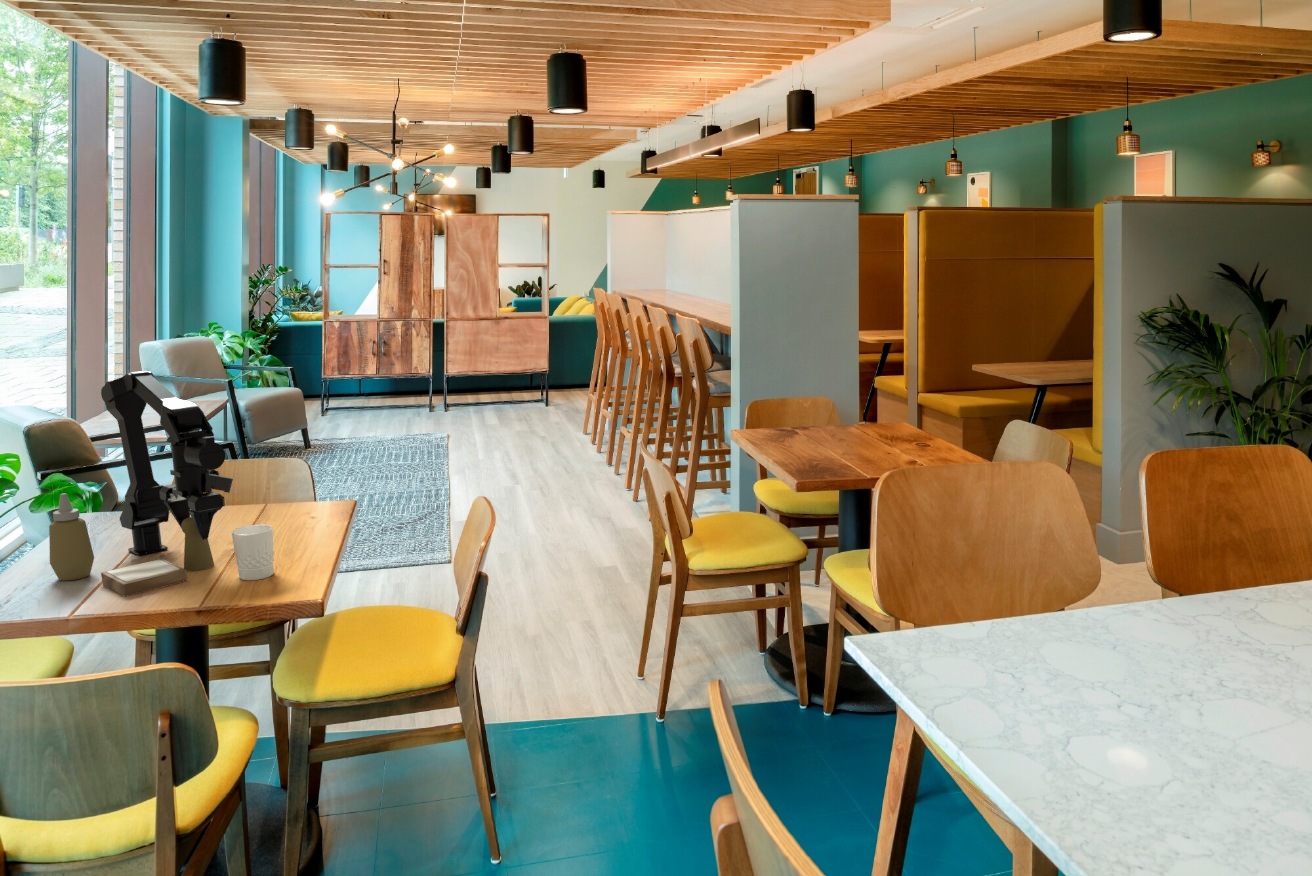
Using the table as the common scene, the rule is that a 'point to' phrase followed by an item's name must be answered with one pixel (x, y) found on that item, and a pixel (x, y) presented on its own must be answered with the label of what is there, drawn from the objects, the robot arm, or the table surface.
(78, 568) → the squeeze bottle
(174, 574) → the walnut picture frame
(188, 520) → the cork
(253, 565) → the white cup
